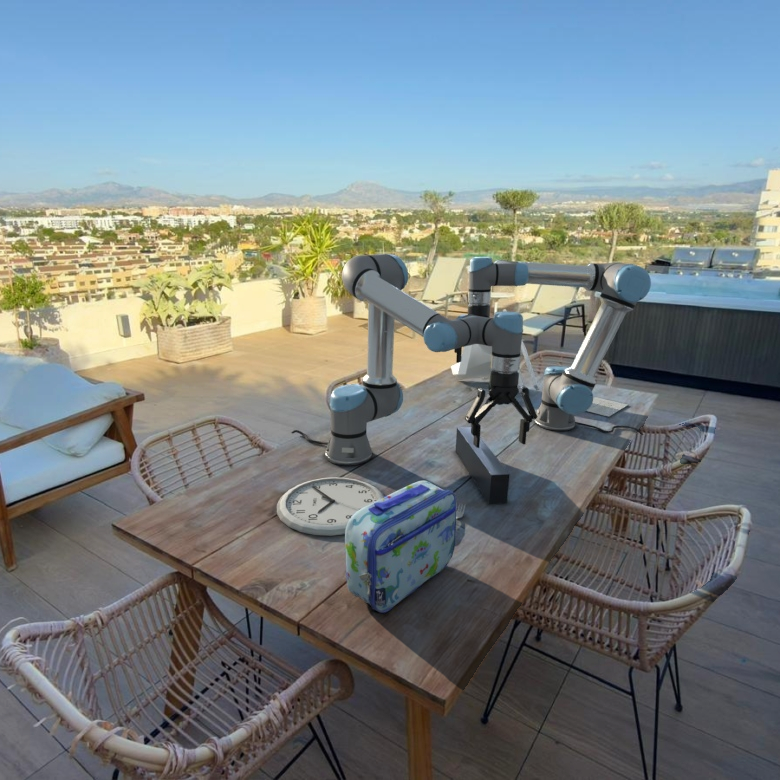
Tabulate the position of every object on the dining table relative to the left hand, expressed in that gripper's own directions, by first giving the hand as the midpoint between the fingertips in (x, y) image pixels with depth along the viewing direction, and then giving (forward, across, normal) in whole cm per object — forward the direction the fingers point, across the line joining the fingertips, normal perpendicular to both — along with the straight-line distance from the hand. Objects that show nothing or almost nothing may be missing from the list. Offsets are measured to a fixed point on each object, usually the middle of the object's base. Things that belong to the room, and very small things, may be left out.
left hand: (499, 444), depth 146 cm
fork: (+16, -17, -13) cm, 27 cm away
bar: (+15, 0, +12) cm, 20 cm away
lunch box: (+16, -35, -34) cm, 51 cm away
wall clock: (+15, -47, +2) cm, 49 cm away
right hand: (-12, +9, +43) cm, 45 cm away
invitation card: (+15, +76, +65) cm, 101 cm away
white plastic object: (+15, +39, +100) cm, 108 cm away
